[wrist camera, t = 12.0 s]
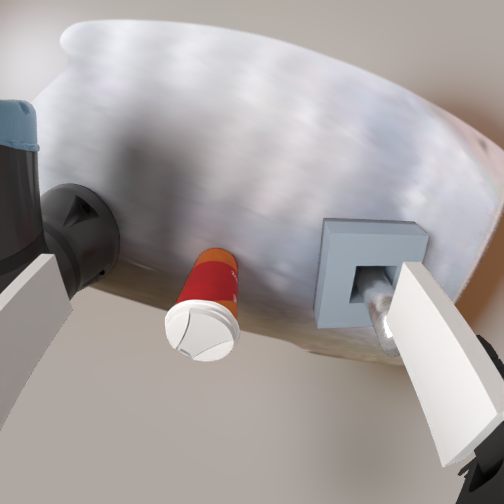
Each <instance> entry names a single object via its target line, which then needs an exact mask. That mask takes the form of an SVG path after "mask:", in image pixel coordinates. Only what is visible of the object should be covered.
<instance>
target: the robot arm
mask: <svg viewBox="0 0 504 504" xmlns="http://www.w3.org/2000/svg"><path fill="white" fill-rule="evenodd" d="M38 151H39V145H38V144H37V121H36V112H35V109H34V107H33V106H32V105H31V104H30V103H28V102H26V101H23V100H0V431H1V429H2V427H3V425H4V423H5V421H6V419H7V417H8V415H9V413H10V411H11V409H12V407H13V406H14V404H15V402H16V400H17V398H18V396H19V395H20V393H21V391H22V389H23V387H24V386H25V384H26V382H27V381H28V379H29V377H30V375H31V374H32V372H33V371H34V368H35V367H36V366H37V364H38V362H39V361H40V359H41V357H42V356H43V354H44V353H45V351H46V349H47V348H48V346H49V345H50V343H51V342H52V340H53V339H54V337H55V336H56V334H57V333H58V331H59V330H60V328H61V327H62V325H63V324H64V322H65V321H66V320H67V318H68V316H69V315H70V314H71V312H72V311H73V309H72V306H71V303H70V300H71V299H72V297H73V296H74V295H75V294H76V292H78V291H80V290H82V289H84V288H86V287H88V286H90V285H92V284H94V283H96V282H98V281H99V280H101V279H102V278H103V277H104V276H105V275H106V274H107V273H108V272H109V271H110V269H111V268H112V267H113V265H114V264H115V262H116V260H117V257H118V254H119V248H120V239H119V232H118V228H117V224H116V222H115V219H114V217H113V215H112V213H111V211H110V210H109V208H108V207H107V205H106V204H105V203H104V202H103V201H102V200H101V198H100V197H98V196H97V195H96V194H95V193H94V192H92V191H91V190H89V189H87V188H85V187H83V186H80V185H77V184H62V185H59V186H56V187H54V188H53V189H51V190H49V191H47V192H46V193H44V194H43V195H42V196H41V197H40V192H39V178H38ZM385 322H386V324H387V326H388V328H389V330H390V332H391V335H392V337H393V339H394V341H395V343H396V346H397V348H398V350H399V353H400V355H401V357H402V359H403V362H404V364H405V366H406V368H407V371H408V374H409V376H410V378H411V381H412V383H413V386H414V388H415V391H416V393H417V396H418V398H419V401H420V404H421V406H422V409H423V412H424V414H425V417H426V420H427V422H428V425H429V428H430V431H431V434H432V436H433V439H434V442H435V445H436V448H437V451H438V454H439V457H440V460H441V464H442V467H445V466H448V465H451V464H454V463H456V462H459V461H461V460H463V459H465V458H466V457H467V456H468V455H469V454H470V453H471V452H472V451H473V450H474V452H475V455H476V457H475V458H474V459H473V460H472V461H470V462H469V463H468V464H467V465H466V466H464V467H463V468H462V469H461V470H460V472H459V473H458V475H459V476H461V475H462V474H463V473H465V472H466V471H467V470H468V469H469V471H468V473H467V474H466V475H465V476H464V477H465V478H466V479H465V482H464V484H463V487H462V489H461V492H460V494H459V497H458V499H457V502H456V504H504V364H503V363H502V361H501V360H500V359H498V355H497V354H496V352H495V350H494V349H493V347H492V346H491V344H489V343H488V342H487V341H486V340H485V339H484V338H483V337H481V336H480V335H475V334H474V332H473V331H472V330H471V328H470V327H469V325H468V324H467V322H466V321H465V320H464V318H463V317H462V315H461V314H460V313H459V311H458V310H457V308H456V307H455V306H454V304H453V303H452V301H451V300H450V299H449V297H448V296H447V295H446V294H445V292H444V291H443V290H442V288H441V287H440V286H439V284H438V283H437V282H436V281H435V279H434V278H433V277H432V276H431V274H430V273H429V272H428V271H427V269H426V268H425V267H424V266H423V264H422V263H421V262H403V265H402V268H401V272H400V276H399V279H398V283H397V286H396V290H395V293H394V296H393V299H392V303H391V306H390V309H389V312H388V315H387V318H386V321H385Z"/></svg>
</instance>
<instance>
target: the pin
mask: <svg viewBox="0 0 504 504" xmlns="http://www.w3.org/2000/svg"><path fill="white" fill-rule="evenodd" d="M354 282H355V284H356V286H357V288H358V291H359V293H360V295H361V298H362V300H363V302H364V305H365V307H366V309H367V312H368V314H369V317H370V319H371V322H372V324H373V327H374V329H375V332H376V334H377V337H378V339H379V342H380V344H381V347H382V350H383V352H384V353H385V354H386V355H389V356H398V355H400V353H399V350H398V348H397V346H396V343H395V341H394V339H393V337H392V335H391V332H390V330H389V328H388V326H387V324H386V322H385V321H386V318H387V315H388V312H389V309H390V306H391V303H392V299H393V296H394V293H395V291H394V289H393V287H392V286H391V284H390V282H389V281H388V279H387V277H386V276H385V274H384V272H383V271H382V269H381V267H380V266H356V270H355V276H354Z"/></svg>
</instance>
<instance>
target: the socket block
mask: <svg viewBox="0 0 504 504" xmlns="http://www.w3.org/2000/svg"><path fill="white" fill-rule="evenodd" d="M428 239H429V235H428V234H427V233H426V232H424V231H423V230H422V229H421V228H420V227H419V226H418V225H417V224H416V223H415V222H409V221H388V220H365V219H336V218H323V228H322V238H321V248H320V257H319V266H318V274H317V282H316V290H315V297H314V305H313V310H314V315H315V320H316V325H317V328H346V327H367V326H373V324H372V322H371V319H370V317H369V314H368V312H367V309H366V307H365V305H364V302H363V300H362V298H361V295H360V293H359V291H358V288H357V286H356V284H355V282H354V276H355V270H356V266H380V267H381V269H382V271H383V272H384V274H385V276H386V277H387V279H388V281H389V282H390V284H391V286H392V287H393V289H394V291H395V290H396V286H397V283H398V279H399V276H400V272H401V268H402V265H403V262H421V263H422V262H423V258H424V254H425V251H426V247H427V243H428Z"/></svg>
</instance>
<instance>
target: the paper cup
mask: <svg viewBox="0 0 504 504" xmlns="http://www.w3.org/2000/svg"><path fill="white" fill-rule="evenodd" d="M237 302H238V265H237V261H236V259H235V258H234V256H233V255H232V254H231V253H230V252H228V251H226V250H224V249H221V248H211V249H208V250H206V251H204V252H203V253H202V254H201V255H200V256H199V257H198V259H197V261H196V263H195V264H194V266H193V268H192V270H191V272H190V274H189V276H188V278H187V280H186V282H185V284H184V286H183V288H182V290H181V293H180V295H179V297H178V299H177V301H176V303H175V305H174V306H173V307H172V308H171V309H170V310H169V311H168V313H167V315H166V317H165V329H166V335H167V339H168V341H169V343H170V344H171V346H172V347H173V348H174V349H175V348H176V349H178V350H179V352H180V353H182V354H184V355H186V356H187V357H189V356H190V357H192V359H193V360H196V361H204V362H208V361H216V360H218V359H221V358H223V357H225V356H226V355H228V354H229V353H230V352H231V350H232V349H233V347H234V346H235V345H236V344H237V342H238V340H239V336H240V328H239V325H238V322H237Z"/></svg>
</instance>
